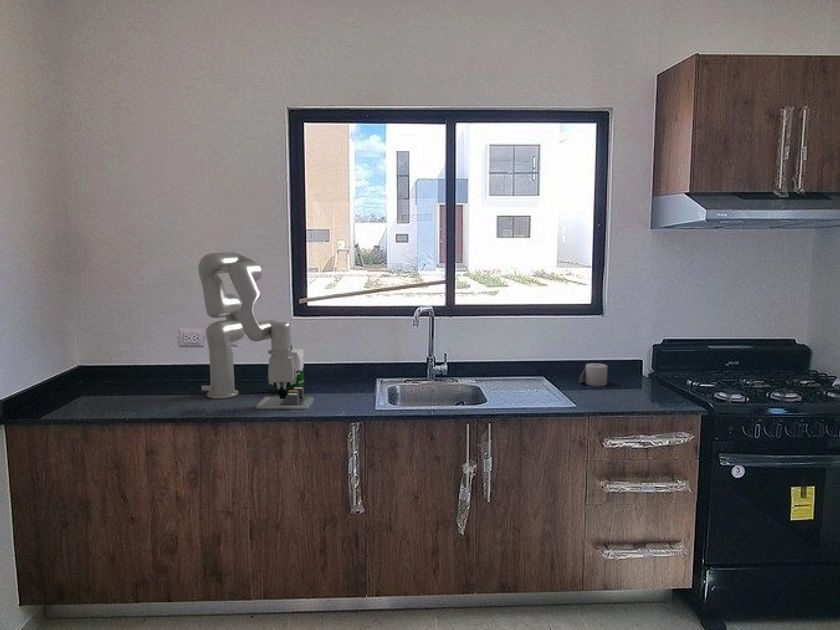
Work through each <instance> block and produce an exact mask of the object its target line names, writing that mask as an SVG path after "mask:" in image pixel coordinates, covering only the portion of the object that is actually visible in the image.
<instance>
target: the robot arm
mask: <svg viewBox="0 0 840 630" xmlns="http://www.w3.org/2000/svg"><path fill="white" fill-rule="evenodd" d="M197 269H198V270H197V272H198V276H199V279H200V283H201V287H202V292H203V293H202V294H203V299H204V306H205V307H204V308H205V311H206V314H207V316H208V317H210V318H213V319H220V318H221V319H222V318H225V320H217V321H214V322H211V323H210V324H208V326H207V327H206V330H205V337H206V342H207V345H208V353H209V355H208V356H209V357H208V358H209V372H210V373H209V374H210V375H209V376H210V384H209V385H201V389H200V390H201V391H203V392H207V394H206V396H207V398H209V399H213V400H215V399H216V400H219V399H229V398H234V397H237V396H238V395H239V390H237V389H235V372H234V371H235V370H234V369H235V368H234V366H235V365H234V352H233V349H232V347H231V345H230V344H229V343H231V342H232V343H233V342H238V341H240V340H242V339H244V337H245V335H246V337H247V338H248V339H249V341H252V342H262V341H266V340H270V345H271V348H270V349H269V350H267V354H269V355H271V356H269V359H268V367H267V369H268V371H267V372H268V374H267V378H268V379H267V380H268V384H269V385H271V386H272V385H273V386H275V388H276V389H277V390H278V397H280V399H285V398H286V397H287V395H288V394H287V387H288V386H289V385H292V384H295V383H296V380H295V365H294V359H293V356H291V345H292V344H291V343H292V341H291V338H292V337H291V325H290V323H289V322H287V321H277V320H272V319H268V320H267V319H266V320H261V321H257V319H256V316H255V314H254V306H255V304H256V302H257V301H259V300H260V299H261V297H262V292H261V290H260V288H259V286H258V283H257V282H258V281H259V280H261V279H262V276H263V270H262V267H261V265H259V263H258V262H256V261H254V260H252V259H251V258H248V257H247V256H244V255H242V254H240V253H238V252H212V253H208V254H205V255H204V256H203V257H202V258H200V260H199V263H198V268H197ZM219 274H228V276H229V278H230V280H231V283H232V285H233V287H234V289H235V292H236V294H237V295H236V294H233V293H226V290H225V285H224V282H223V280H222V278H221V277H220V276H219ZM282 382H284V385H283V388H282Z"/></svg>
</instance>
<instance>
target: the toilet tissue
mask: <svg viewBox="0 0 840 630" xmlns="http://www.w3.org/2000/svg"><path fill="white" fill-rule="evenodd" d="M583 383H585V385H588V386H592V387H605V386H607V385H608V365H607V364H604V363H597V362H596V363H593V362H591V363H586V364H585V367H584V369H583V371H582V372H581V374H580V377H579V381H578V384H583Z"/></svg>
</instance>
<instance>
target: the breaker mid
mask: <svg viewBox="0 0 840 630" xmlns="http://www.w3.org/2000/svg"><path fill="white" fill-rule="evenodd" d="M289 393H297V394H298V396H299V391H297V390H289V391H288V392H287V395H288V394H289Z"/></svg>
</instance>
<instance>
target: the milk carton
mask: <svg viewBox="0 0 840 630" xmlns="http://www.w3.org/2000/svg"><path fill="white" fill-rule="evenodd" d="M291 356H293V359H294V365H295V380H296V383H295V384H292V385H289V386H288V387H287V392H288V391H289V390H293V388H295V387H303V388H305V385H304V384H305V376H304V375H305V374H304V373H305V372H304V349H302V348H293V345H292V344H291ZM281 384H282V388H283V385H284V382H281Z"/></svg>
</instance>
